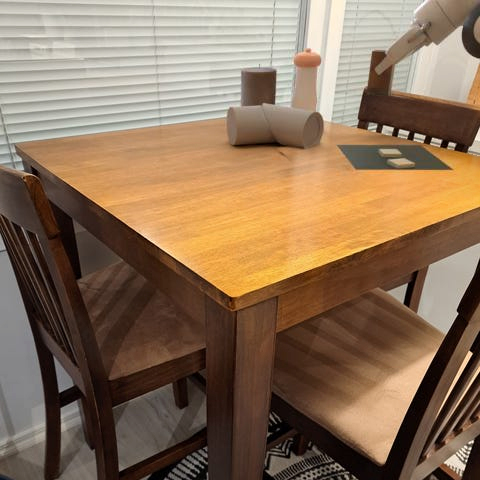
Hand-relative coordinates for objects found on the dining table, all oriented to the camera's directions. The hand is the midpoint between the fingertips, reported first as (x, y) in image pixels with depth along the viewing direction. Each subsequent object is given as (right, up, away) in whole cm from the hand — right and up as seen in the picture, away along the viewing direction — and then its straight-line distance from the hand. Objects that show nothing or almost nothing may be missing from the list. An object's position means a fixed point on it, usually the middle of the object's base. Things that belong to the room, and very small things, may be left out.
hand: (379, 70), depth 115 cm
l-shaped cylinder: (-24, -16, +4) cm, 29 cm away
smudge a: (+1, -22, -6) cm, 22 cm away
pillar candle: (-27, -3, +25) cm, 37 cm away
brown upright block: (+1, -4, +2) cm, 5 cm away
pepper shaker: (-15, -6, +20) cm, 26 cm away
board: (+1, -23, -6) cm, 24 cm away
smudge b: (+1, -26, -13) cm, 29 cm away
